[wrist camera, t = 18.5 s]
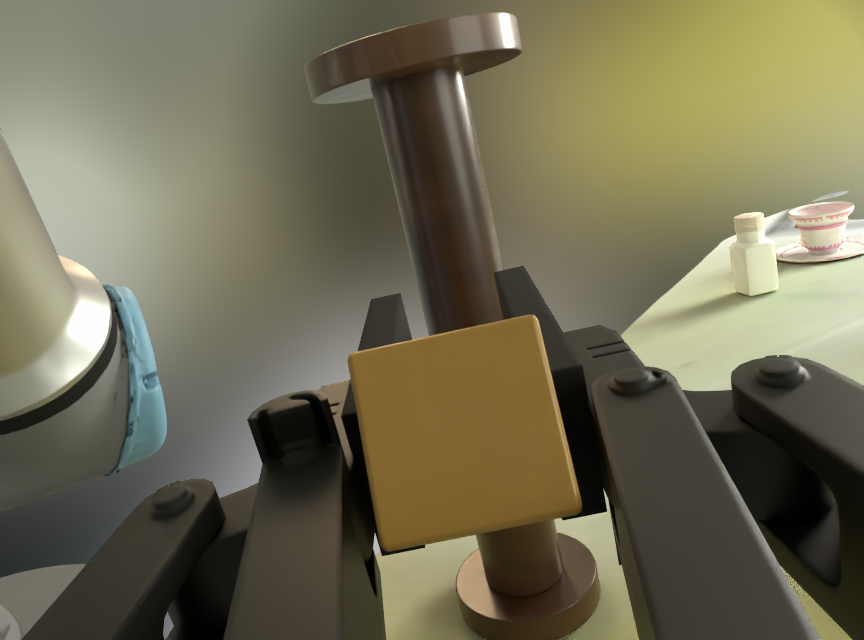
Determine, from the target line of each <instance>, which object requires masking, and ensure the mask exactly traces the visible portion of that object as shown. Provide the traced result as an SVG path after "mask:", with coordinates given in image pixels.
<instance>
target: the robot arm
mask: <svg viewBox="0 0 864 640" xmlns="http://www.w3.org/2000/svg"><path fill="white" fill-rule="evenodd" d="M494 276H495V281H496V286H497V291H498V296H499V301H500V306H501V311H502V316H503V320H506V319H511V318H515V317H520V316H525V315H535V316H536V318H537V319H538V321H539V325H540V329H541V333H542V338H543V342H544V346H545V350H546V354H547V359H548V363H549V367H550V371H551V375H552V379H553V384H554V388H555V392H556V396H557V400H558V405H559V409H560V413H561V417H562V421H563V425H564V430H565V434H566V438H567V442H568V446H569V451H570V455H571V459H572V463H573V467H574V472H575V476H576V480H577V484H578V488H579V492H580V497H581V501H582V511H581V512H579V513H578V514H577V515H572V516H567V517H562V520H567V519H572V518H577V517H582V516H587V515H592V514H598V513H603V512H607V508H606V502H605V496H604V490H605V492H606V495H607V497H608V500H609V506H610V512H611V518H612V524H613V530H614V536H615V542H616V548H617V555H618V561H619V565H622V568H623V572H624V576H625V580H626V585H627V589H628V593H629V598H630V602H631V606H632V610H633V615H634V619H635V623H636V628H637V632H638V636H639V640H821V638H820V637H819V635H818V633H817V631H816V629H815V628H814V626H813V624H812V622H811V621H810V619H809V617H808V615H807V613H806V612H805V610H804V608H803V606H802V604H801V603H800V601H799V599H798V597H797V595H796V594H795V592H794V590H793V588H792V586H791V585H790V583H789V581H788V579H787V577H786V576H785V574H784V572H783V570H782V569H781V567H782V568H783V569H784V570H785V571H786V572H787V573H788V574H789V575H790V576H791V577H792V578H793V579H794V580H795V581H796V582H797V583H798V584H799V585H800V586H801V587H802V588H803V589H804V590H805V591H806V592H807V593H808V594H809V595H810V596H811V597H812V598H813V599H814V600H815V601H816V602H817V604H818V605H819V606H820V607H821V608H822V609H823V610H824V611H825V612H826V613H827V614H828V615H829V616H830V617H831V618H832V619H833V620H834V621H835V622H836V623H837V624H838V625H839V626H840V627H841V628H842V629H843V630H844V631H845V632H846V633H847V634H848V635H849V636H850V637H851V638H852V639H853V640H864V386H863V385H861V384H859V383H857V382H855V381H853V380H851V379H849V378H847V377H846V376H844V375H842V374H840V373H838V372H836V371H834V370H832V369H830V368H828V367H826V366H824V365H822V364H820V363H817V362H814V361H811V360H808V359H803V358H796V357H792V356H789V355H779V357H777V355H773V356H766V357H765V358H761V359H755V360H752V361H749V362H746V363H744V364H741V365H739V366H738V367H737V368H736V369H735V370H734V371H732V376H731V385H732V390H725V391H686V390H682V389H681V387H680V386H679V384H678V382H677V380H676V378H675V377H674V376H673V375H671V374H670V373H669V372H668V371H665V370H662V369H659V368H655V367H645V365H644V364H643V363H642V362H641V361H640V359H639V358H638V357H637V356H636V354H635V353H634V352H633V351H632V350H631V349H630V347H629V346H628V345H627V344H626V342H625V343H624V340H623V339H622V338H621V336H620V335H619V334H618V333H617V332H616V331H614V330H612V329H609V328H606V327H604V326H601V325H598V326H593V327H588V328H583V329H579V330H574V331H569V332H565V333H563V331H562V330H561V328H560V326H559V325H558V323H557V321H556V320H555V318H554V316H553V315H552V313H551V311H550V309H549V308H548V306H547V305H546V303H545V301H544V299H543V298H542V296H541V295H540V293H539V291H538V289H537V288H536V286H535V284H534V283H533V281H532V279H531V278H530V276H529V274H528V273H527V271H526V269H525V268H524V266H520V267H516V268H512V269H507V270H502V271H498V272H494ZM409 340H412V337H411V333H410V329H409V325H408V321H407V317H406V313H405V310H404V306H403V301H402V298H401V294H400V293H398V294H393V295H389V296H384V297H380V298H375V299H371V302H370V306H369V310H368V314H367V318H366V321H365V325H364V329H363V333H362V337H361V341H360V345H359V348H358V351H363V350H367V349H372V348H377V347H381V346H386V345H390V344H395V343H400V342H404V341H409ZM166 422H167V421H166V412H165V405H164V399H163V394H162V389H161V385H160V382H159V379H158V377H157V369H156V363H155V357H154V353H153V349H152V346H151V342H150V338H149V335H148V331H147V328H146V325H145V322H144V319H143V316H142V313H141V310H140V308H139V305H138V302H137V300H136V298H135V296H134V294H133V292H131V290H130V289H128V288H127V287H124V286H121V285H120V286H109V285H103V286H102V285H101V284H100V282H99V281H98V280H97V278H96V277H95V276H94V275H93V274H92V273H91V272H89V270H87V269H86V268H85V267H83V266H81V265H80V264H78V263H76V262H74V261H72V260H69V259H67V258H65V257H62V256H58V254H57V252H56V250H55V248H54V245H53V243H52V241H51V239H50V237H49V234H48V232H47V230H46V228H45V226H44V223H43V221H42V219H41V217H40V215H39V213H38V210H37V208H36V206H35V204H34V201H33V199H32V197H31V195H30V193H29V191H28V188H27V186H26V184H25V182H24V180H23V177H22V175H21V173H20V171H19V169H18V166H17V164H16V162H15V160H14V158H13V155H12V153H11V151H10V149H9V147H8V144H7V142H6V140H5V138H4V136H3V134H2V131H1V129H0V512H2V511H5V510H8V509H11V508H13V507H16V506H19V505H22V504H24V503H27V502H30V501H33V500H35V499H38V498H41V497H44V496H46V495H49V494H52V493H55V492H57V491H60V490H63V489H65V488H68V487H71V486H74V485H77V484H79V483H82V482H85V481H88V480H91V479H94V478H97V477H100V476H102V475H103V476H109V475H113V474H116V473H117V472H119V471H120V470H121V469H122V468H123V467H125V466H128V465H130V464H132V463H135V462H137V461H139V460H142V459H144V458H147V457H149V456H151V455H153V454H154V453H155V452H157V451H158V450H159V448H160V447H161V446H162V444H163V442H164V440H165V437H166V431H167V423H166ZM248 423H249V426H250V429H251V431H252V434H253V437H254V440H255V443H256V446H257V449H258V452H259V455H260V458H261V461H262V463H263V465H262V469H261V474H260V478H259V483H257V484H255V485H253V486H250V487H248V488H246V489H244V490H241V491H238V492H235V493H233V494H230V495H227V496H225V497H222V498H219V497H218V495H217V492H216V489H215V487H214V485H213V482H211V481H208V480H206V479H190V480H186V481H182V482H180V481H177V482H174V483H171V484H170V486H168V485H166V486H164V487H162V488H160V489H158V490H157V492H155V493H154V494H152V495H151V496H149V497H147V498H146V499H145V500H144V501H142V502H141V503H140V504H139V505H138V506H137V507H136V508H135V509H134V510H133V511H132V512H131V514H130V515H129V516H128V517H127V518H126V519H125V520H124V521H123V523H122V524H121V525H120V526H119V527H118V528H117V529H116V531H115V532H114V533H113V534H112V535H111V536H110V538H109V539H108V540H107V541H106V542H105V543H104V545H103V546H102V547H101V548H100V549H99V550H98V552H97V553H96V554H95V555H94V556H93V557H92V558H91V560H90V561H89V562H88V563H87V564H86V565H85V566H84V568H83V569H82V570H81V571H80V572H79V573H78V575H77V576H76V577H75V578H74V579H73V580H72V582H71V583H70V584H69V585H68V586H67V587H66V588H65V590H64V591H63V592H62V593H61V594H60V595H59V597H58V598H57V599H56V600H55V601H54V602H53V603H52V605H51V606H50V607H49V608H48V609H47V610H46V612H45V613H44V614H43V615H42V616H41V617H40V619H39V620H38V621H37V622H36V623H35V624H34V625H33V627H32V628H31V629H30V630H29V631H28V632H27V634H26V635H25V636H24V635H23V633H22V630H21V628H20V626H19V624H18V623H17V622H16V620H15V619H14V617H13V616H12V615H11V613H10V612H9V611H8V610H7V609H5V608H4V607H3V606H2V605H1V604H0V640H164V636H163V627H164V617H165V615H166V613H167V611H168V613H169V616H170V618H171V620H172V623H173V625H174V627H173V629H172V630H171V632H170V634H169V635H168V637H167V638H166V639H165V640H386V633H385V622H384V611H383V599H382V588H381V577H380V570H379V567H378V564H377V560H376V557H375V554H374V550H373V543H374V534H375V533H376V537H377V540H378V544H379V538H378V532H377V526H376V521H375V515H374V509H373V504H372V498H371V492H370V486H369V481H368V475H367V469H366V464H365V458H364V452H363V447H362V441H361V435H360V429H359V424H358V418H357V412H356V407H355V401H354V395H353V390H352V384H351V379H350V380H349V381H344V382H340V383H335V384H330V385H326V386H322V387H321V388H320V389H319V390H318V391H306V390H305V391H300V392H294V393H290V394H287V395H284V396H281V397H278V398H275V399H273V400H271V401H269V402H267V403H265V404H263V405H262V406H260V407H259V408H257V409H256V410H255V411H253V412H252V414H251V415H250V417H249V418H248ZM603 488H604V490H603ZM379 547H380V550H381V554H382V556H385V555H390V554H395V553H400V552H405V551H410V550H415V549H420V548H425V545H420V546H415V547H410V548H405V549H400V550H395V551H390V552H388V551H384V550H383V549H382V548H381V546H380V544H379ZM780 566H781V567H780Z"/></svg>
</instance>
